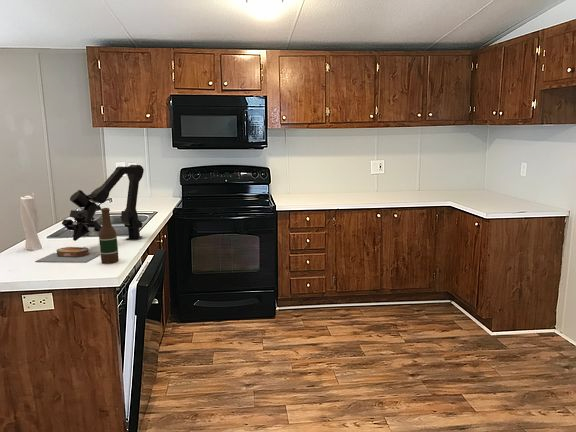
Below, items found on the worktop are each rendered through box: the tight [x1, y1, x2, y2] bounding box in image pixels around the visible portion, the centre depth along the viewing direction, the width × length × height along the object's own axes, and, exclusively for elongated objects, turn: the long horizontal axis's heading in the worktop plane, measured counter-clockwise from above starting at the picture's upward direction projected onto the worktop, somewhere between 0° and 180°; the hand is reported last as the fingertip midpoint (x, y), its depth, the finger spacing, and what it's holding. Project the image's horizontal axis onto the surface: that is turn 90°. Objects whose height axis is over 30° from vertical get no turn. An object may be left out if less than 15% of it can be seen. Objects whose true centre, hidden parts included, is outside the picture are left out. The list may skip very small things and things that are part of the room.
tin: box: [56, 246, 90, 257], centre depth 220 cm, size 15×3×8 cm
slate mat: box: [35, 252, 101, 264], centre depth 216 cm, size 14×24×1 cm, turn 84°
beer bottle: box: [98, 207, 120, 265], centre depth 207 cm, size 8×8×24 cm
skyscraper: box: [20, 192, 43, 251], centre depth 232 cm, size 8×8×28 cm
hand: (74, 240), depth 221 cm, fingers closed
